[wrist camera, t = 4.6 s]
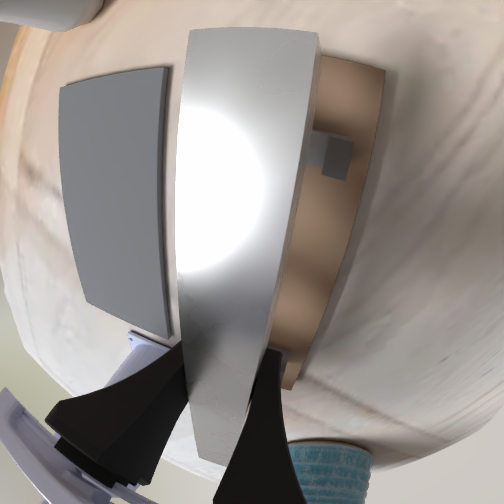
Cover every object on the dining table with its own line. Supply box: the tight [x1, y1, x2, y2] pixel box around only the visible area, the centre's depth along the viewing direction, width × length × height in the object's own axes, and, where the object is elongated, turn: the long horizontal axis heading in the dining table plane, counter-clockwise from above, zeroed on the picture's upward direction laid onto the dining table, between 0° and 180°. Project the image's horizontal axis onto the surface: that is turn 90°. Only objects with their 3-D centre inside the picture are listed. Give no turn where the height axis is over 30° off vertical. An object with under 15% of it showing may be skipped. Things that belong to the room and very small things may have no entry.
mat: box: [59, 67, 171, 340], centre depth 21 cm, size 24×12×1 cm, turn 173°
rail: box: [176, 27, 322, 467], centre depth 10 cm, size 22×2×2 cm, turn 173°
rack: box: [267, 55, 385, 390], centre depth 16 cm, size 26×8×5 cm, turn 173°
